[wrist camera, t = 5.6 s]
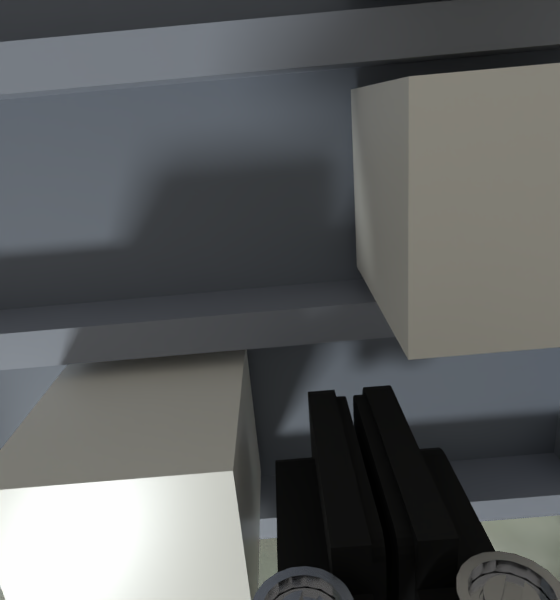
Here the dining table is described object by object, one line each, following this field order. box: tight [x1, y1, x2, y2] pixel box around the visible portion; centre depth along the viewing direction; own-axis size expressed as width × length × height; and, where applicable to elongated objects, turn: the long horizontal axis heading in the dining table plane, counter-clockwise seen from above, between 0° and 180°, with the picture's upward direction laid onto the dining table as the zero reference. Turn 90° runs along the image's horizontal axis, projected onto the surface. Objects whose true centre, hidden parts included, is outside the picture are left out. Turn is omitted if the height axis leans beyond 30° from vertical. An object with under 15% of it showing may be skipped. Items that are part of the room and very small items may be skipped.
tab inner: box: [0, 349, 261, 600], centre depth 11 cm, size 4×4×4 cm
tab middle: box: [351, 63, 560, 360], centre depth 9 cm, size 4×4×4 cm
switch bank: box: [0, 0, 560, 539], centre depth 11 cm, size 20×16×3 cm
